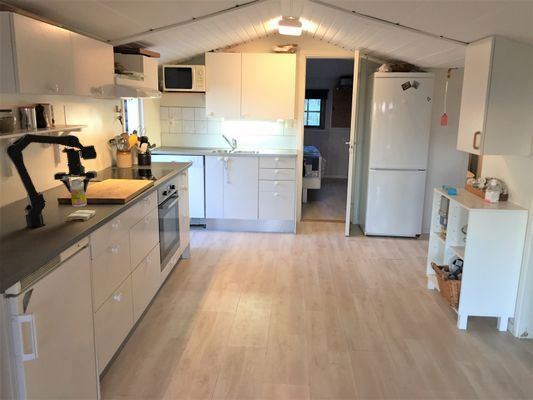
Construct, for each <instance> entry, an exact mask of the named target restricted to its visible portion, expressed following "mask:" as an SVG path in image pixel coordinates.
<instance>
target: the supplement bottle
mask: <svg viewBox="0 0 533 400" xmlns="http://www.w3.org/2000/svg"><path fill="white" fill-rule="evenodd" d="M70 181H71V183H70V184H71V185H70V186H71V187H70V191H71V193H70V197H71V198H70V199H71V203H72V204H71V205H72V206H73V207H75V208H76V207H78V208H80V207H84V206H87V204H88V203H87V202H88V201H87V196H86V192H84V184H82V183H83V180H82V179H80V178H79V179H78V178H76V179H71V180H70Z"/></svg>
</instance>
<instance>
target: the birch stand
mask: <svg viewBox="0 0 533 400" xmlns="http://www.w3.org/2000/svg"><path fill="white" fill-rule="evenodd" d="M97 214H98V210H97V209H96V210H95V209H94V210H91V209H89V210H88V209H85V210H84V209H83V210H81V209H80V210H79V209H78V210H76V211H74V212H72V213H71V214H69V215H68V216H66V220H68V221H69V222H70V221H73V220H83V221H86V222H87V221H88V220H90V219H91V218H93V217H94V216H96V215H97Z"/></svg>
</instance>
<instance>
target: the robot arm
mask: <svg viewBox="0 0 533 400" xmlns="http://www.w3.org/2000/svg"><path fill="white" fill-rule="evenodd" d="M31 143H33V144H34V143H36V144H49V145H51V144H52V145H60V146H64V147H63V149H62V150H61V153H63V154H66V159H67V160H66V161H67V168H68V173H67V172H65V171H59V172H56V173H55V174H54V175H53V179H54V180H55V181H58V180H59V182H62V184H63V185H64V186H65V187H66V189H67V191H68V192H69V194H71V191H70V187H71V186H72V185H71V183H70V181H71V180H70V178H83V180H82V183H83V185H84V192H85V193H87V189H88V186H89V182H90V180H92V179H96V177H97V178H98V173H97V171H96V170H89V171H86V168H85V166H84V165H83V164H82V161H81V159H82V160H83V161H86V160H96V159H97V158H98V157H97V156H98V155H97V154H98V153H97V151H96V148H95V146H94V145H92V144H90V145H83V144H82V142H80V139H79V137H77V135H72V134H63V135H47V134H46V135H45V134H35V133H34V134H32V133H25V134H23V135H22V136H21V137H20V138H18V139H16V140H15V141H13V143H8V144H7V145H5V147H4V153H5V155H6V156H7V157H8V159H9V160H10V161H11V163H12V164H13V166H14V168H15V170H16V173H17V175H18V177H19V179H20V182H21V183H22V186H23V187H24V189H25V192H26V197H27V203H28V204H27V205H26V206H25V207H24V211H25V213H26V214H25V223H26V225H25V226H24V228H26V229H37V228H41V227H45V226H46V223H45V221H44V216H43V210H44V209H45V207H46V202H47V201H46V200H45V198H44V195H43V193H42V192H41V191H37V189H36V186H35V185H34V183H33V180H32V178H31V176H30V174H29V172H28V169H27V167H26V165H25V163H24V155H23V151H24V150H25V149H26V148H27V147H28V146H29V145H31ZM67 147H69V148H67Z"/></svg>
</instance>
